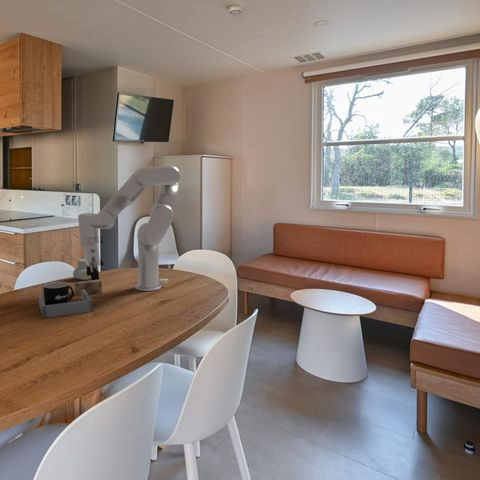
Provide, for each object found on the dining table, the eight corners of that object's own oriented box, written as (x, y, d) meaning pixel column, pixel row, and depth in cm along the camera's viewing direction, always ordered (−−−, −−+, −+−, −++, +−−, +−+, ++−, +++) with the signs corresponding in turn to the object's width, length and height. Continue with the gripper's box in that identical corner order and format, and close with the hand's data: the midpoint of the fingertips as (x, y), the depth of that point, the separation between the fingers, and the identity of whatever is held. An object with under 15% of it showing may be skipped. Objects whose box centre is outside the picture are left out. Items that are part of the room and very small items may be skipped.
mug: (53, 315, 142) (52, 289, 141) (39, 310, 146) (38, 285, 145) (80, 306, 152) (80, 282, 151) (66, 302, 157) (65, 279, 155)
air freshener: (91, 275, 202) (91, 257, 200) (98, 278, 196) (97, 260, 195) (70, 278, 194) (70, 259, 193) (77, 282, 189) (76, 262, 187)
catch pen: (84, 299, 162) (84, 289, 161) (92, 311, 147) (92, 300, 147) (38, 305, 153) (38, 294, 152) (42, 318, 138) (42, 306, 138)
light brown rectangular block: (100, 291, 175) (99, 279, 175) (101, 292, 173) (101, 281, 172) (74, 293, 170) (74, 282, 169) (76, 295, 167) (75, 283, 166)
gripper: (102, 242, 163) (106, 280, 166) (94, 237, 178) (97, 272, 181) (84, 244, 159) (88, 283, 162) (77, 239, 174) (80, 274, 177)
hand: (93, 277), depth 172 cm, fingers open, 9 cm apart
